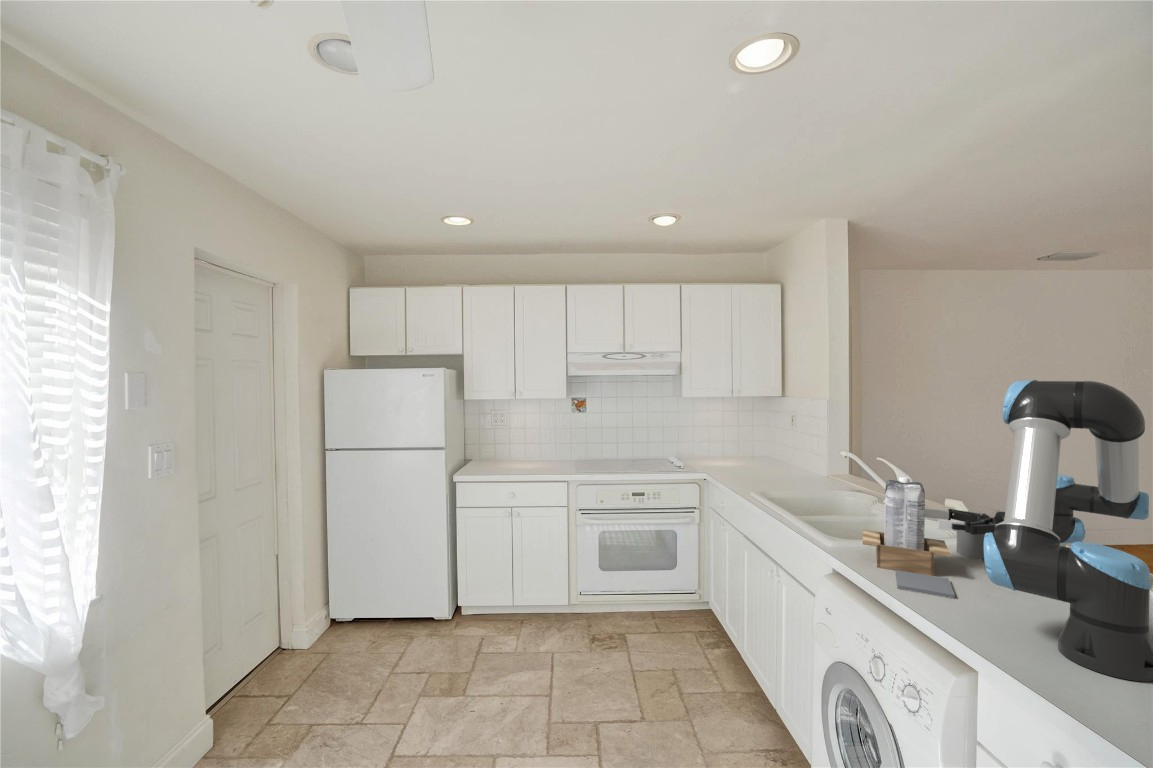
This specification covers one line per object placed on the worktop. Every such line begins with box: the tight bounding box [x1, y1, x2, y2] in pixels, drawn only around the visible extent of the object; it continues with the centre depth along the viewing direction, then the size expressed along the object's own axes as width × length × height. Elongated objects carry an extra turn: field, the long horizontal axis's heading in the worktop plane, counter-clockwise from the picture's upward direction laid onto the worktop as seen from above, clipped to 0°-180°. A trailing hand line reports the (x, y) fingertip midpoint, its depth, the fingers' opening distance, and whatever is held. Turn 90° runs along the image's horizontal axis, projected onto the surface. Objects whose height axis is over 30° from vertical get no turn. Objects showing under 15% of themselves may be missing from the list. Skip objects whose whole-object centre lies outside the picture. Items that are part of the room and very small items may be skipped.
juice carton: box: [884, 476, 926, 551], centre depth 165 cm, size 9×10×27 cm
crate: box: [862, 529, 952, 576], centre depth 165 cm, size 16×23×7 cm
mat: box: [895, 570, 956, 599], centre depth 149 cm, size 13×13×1 cm
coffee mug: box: [955, 521, 985, 561], centre depth 173 cm, size 13×10×10 cm
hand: (930, 518), depth 163 cm, fingers open, 13 cm apart
